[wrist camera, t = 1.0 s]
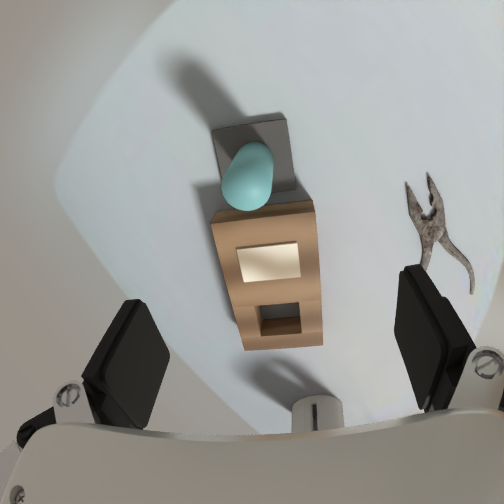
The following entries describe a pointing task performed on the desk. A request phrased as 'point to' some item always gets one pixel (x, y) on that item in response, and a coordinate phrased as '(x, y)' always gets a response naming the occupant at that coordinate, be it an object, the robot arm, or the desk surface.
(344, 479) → the robot arm
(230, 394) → the desk surface
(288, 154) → the pad
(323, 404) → the cup
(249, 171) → the peg
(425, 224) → the pliers
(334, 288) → the desk surface
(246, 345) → the wooden peg hole block
